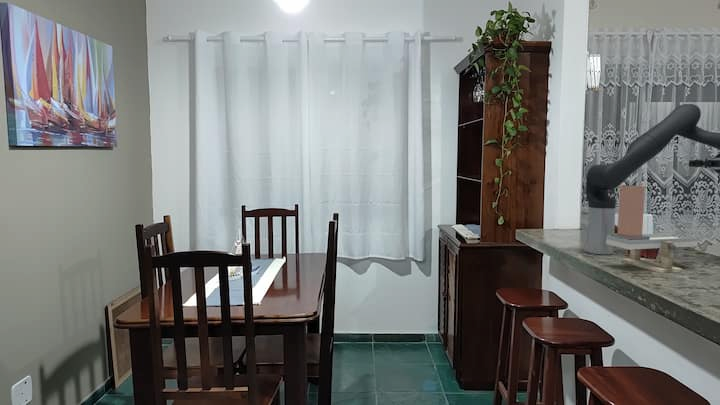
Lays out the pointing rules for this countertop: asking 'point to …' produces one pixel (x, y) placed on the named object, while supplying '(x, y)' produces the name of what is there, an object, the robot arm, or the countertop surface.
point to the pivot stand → (652, 265)
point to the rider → (631, 213)
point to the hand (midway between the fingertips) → (691, 163)
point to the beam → (651, 241)
